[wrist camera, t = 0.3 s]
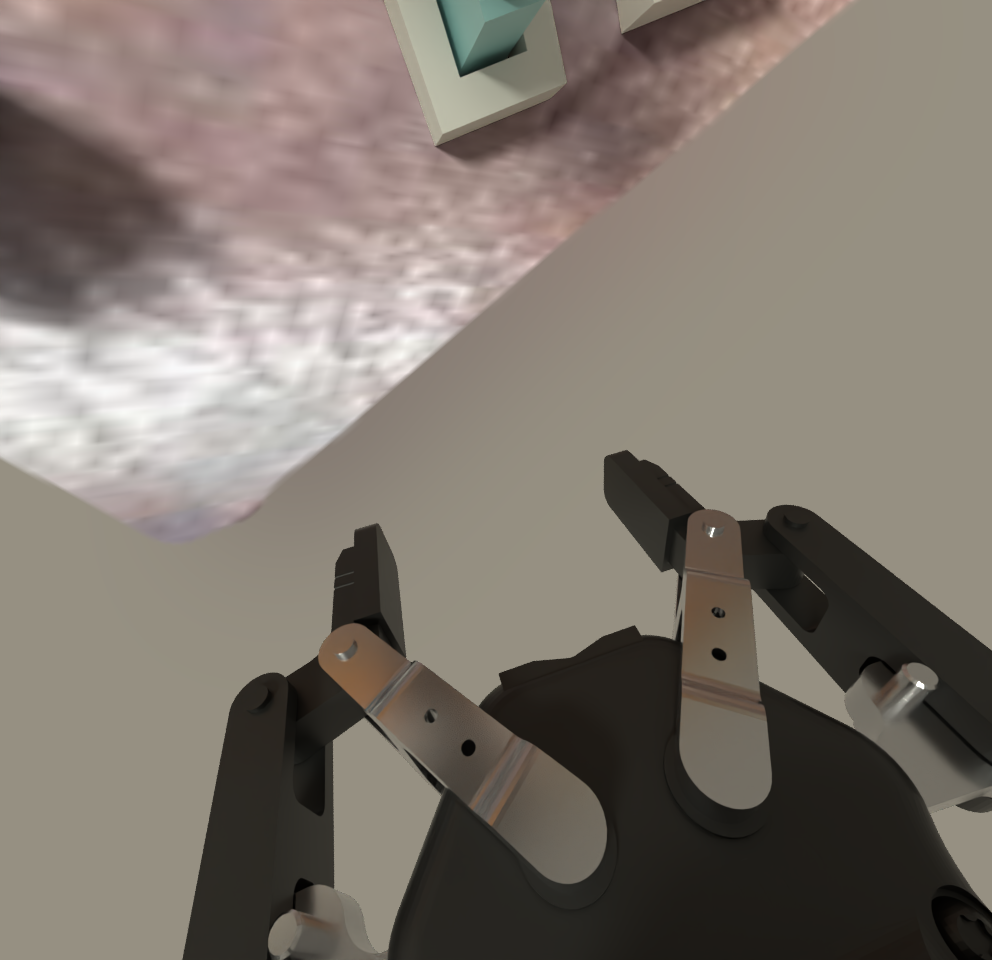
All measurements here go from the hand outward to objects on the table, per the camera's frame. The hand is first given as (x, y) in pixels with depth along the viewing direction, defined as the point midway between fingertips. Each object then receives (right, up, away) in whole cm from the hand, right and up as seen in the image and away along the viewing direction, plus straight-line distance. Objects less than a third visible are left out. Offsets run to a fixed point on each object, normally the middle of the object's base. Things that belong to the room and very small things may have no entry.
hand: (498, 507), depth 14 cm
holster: (-2, +33, +15) cm, 36 cm away
